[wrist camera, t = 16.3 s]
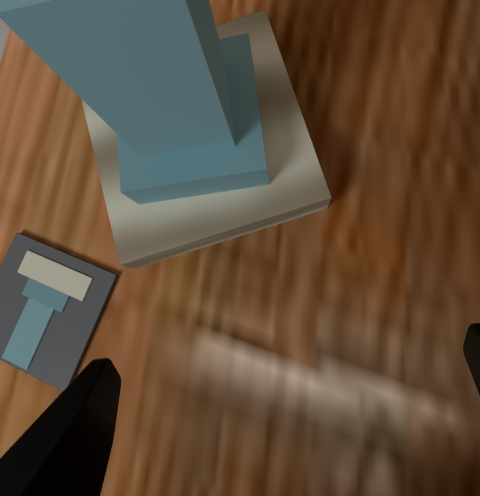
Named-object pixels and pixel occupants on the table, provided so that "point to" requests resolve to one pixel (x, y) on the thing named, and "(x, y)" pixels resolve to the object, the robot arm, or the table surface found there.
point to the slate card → (48, 309)
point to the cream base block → (228, 202)
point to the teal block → (156, 89)
